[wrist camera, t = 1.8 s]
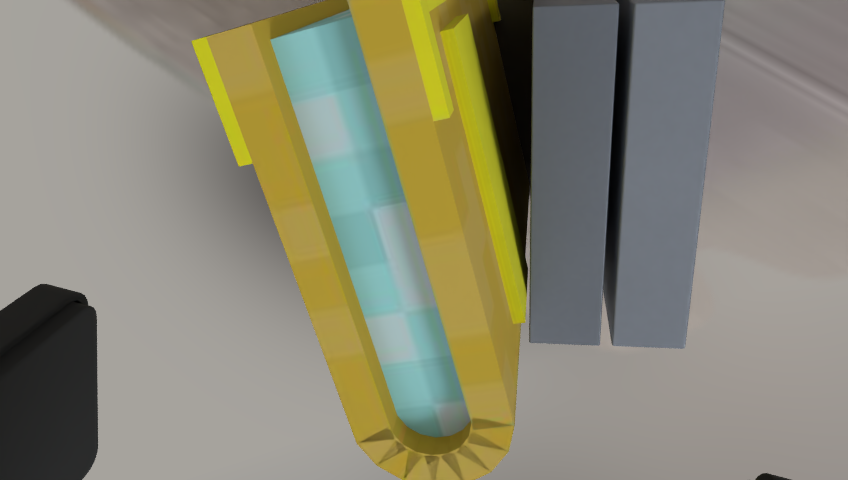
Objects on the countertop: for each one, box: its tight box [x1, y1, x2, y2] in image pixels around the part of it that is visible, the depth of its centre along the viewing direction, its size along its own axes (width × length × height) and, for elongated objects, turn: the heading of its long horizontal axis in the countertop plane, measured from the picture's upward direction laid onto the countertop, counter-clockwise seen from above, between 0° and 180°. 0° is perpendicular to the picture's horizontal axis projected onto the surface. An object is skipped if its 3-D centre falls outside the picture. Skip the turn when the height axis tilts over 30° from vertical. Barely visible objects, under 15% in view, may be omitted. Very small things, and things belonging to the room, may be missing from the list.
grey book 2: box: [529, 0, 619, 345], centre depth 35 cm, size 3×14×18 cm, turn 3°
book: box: [191, 0, 530, 480], centre depth 33 cm, size 17×7×25 cm, turn 15°
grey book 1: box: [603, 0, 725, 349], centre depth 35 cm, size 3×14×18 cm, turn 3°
